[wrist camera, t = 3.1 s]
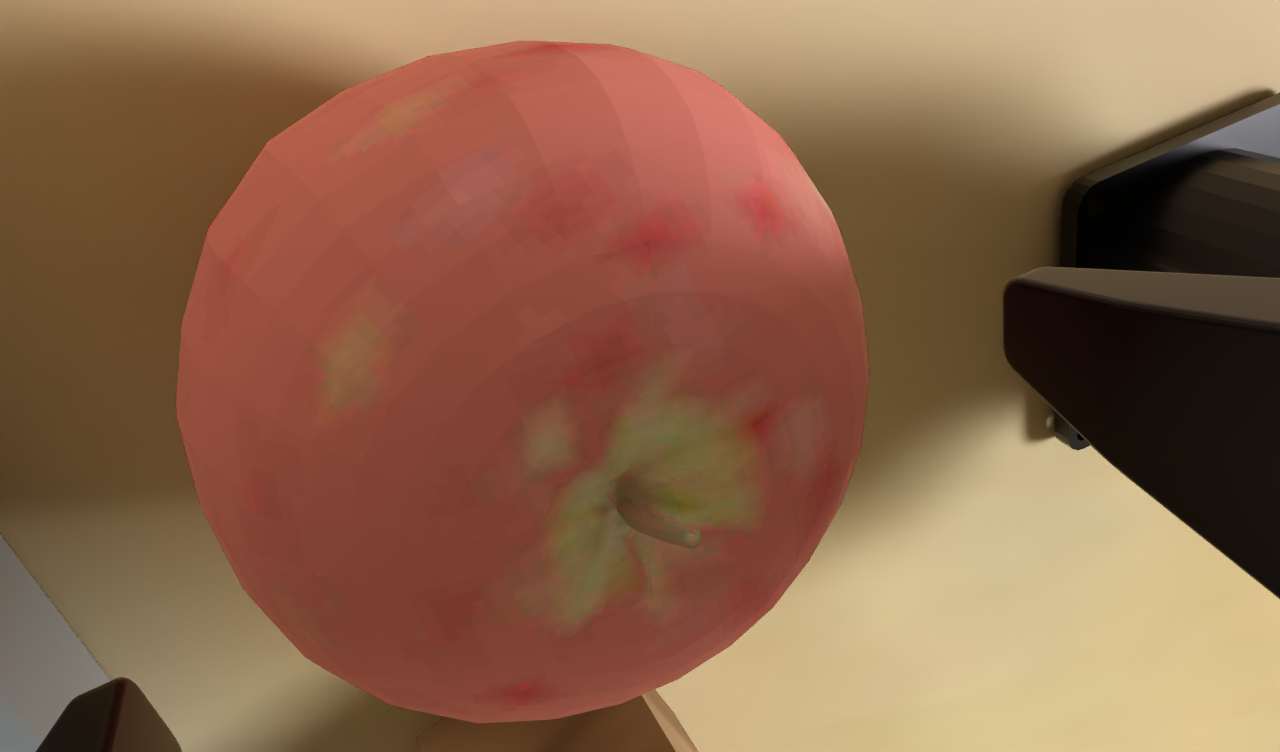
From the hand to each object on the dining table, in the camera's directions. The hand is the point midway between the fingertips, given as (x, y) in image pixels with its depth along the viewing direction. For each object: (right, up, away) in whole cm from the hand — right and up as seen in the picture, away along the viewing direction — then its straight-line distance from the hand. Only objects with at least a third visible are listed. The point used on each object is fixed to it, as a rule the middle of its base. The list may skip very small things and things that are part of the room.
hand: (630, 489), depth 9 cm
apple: (-3, +3, +5) cm, 7 cm away
